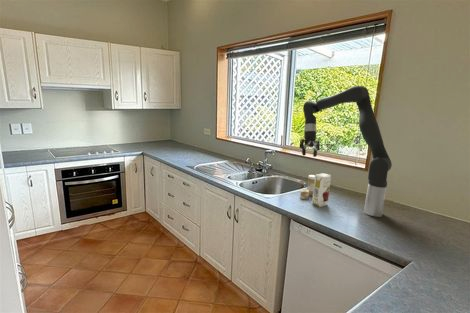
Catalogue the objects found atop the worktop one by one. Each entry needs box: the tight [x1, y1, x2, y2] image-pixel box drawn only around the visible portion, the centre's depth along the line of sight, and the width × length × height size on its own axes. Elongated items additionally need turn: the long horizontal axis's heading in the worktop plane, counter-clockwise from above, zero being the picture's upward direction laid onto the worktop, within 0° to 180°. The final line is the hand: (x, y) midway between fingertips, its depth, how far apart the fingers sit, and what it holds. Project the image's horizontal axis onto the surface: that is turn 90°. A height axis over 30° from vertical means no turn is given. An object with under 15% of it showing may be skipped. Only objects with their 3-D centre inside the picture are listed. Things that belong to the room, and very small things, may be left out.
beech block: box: [299, 188, 309, 200], centre depth 171 cm, size 5×5×5 cm
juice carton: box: [311, 172, 332, 208], centre depth 160 cm, size 8×9×19 cm
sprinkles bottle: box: [306, 174, 315, 197], centre depth 176 cm, size 5×5×14 cm
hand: (309, 156), depth 171 cm, fingers open, 8 cm apart
